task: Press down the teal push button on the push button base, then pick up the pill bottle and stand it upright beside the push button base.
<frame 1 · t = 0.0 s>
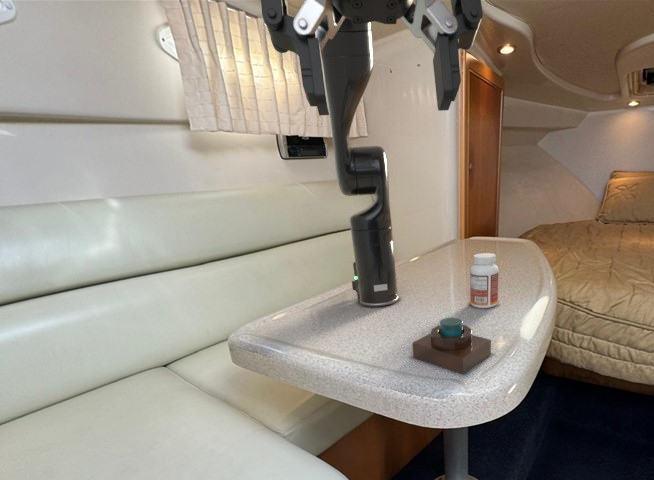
hand: (385, 106, 25), 31 cm above the table, tool tilted 20°, fingers open, 8 cm apart
teal push button: (451, 327, 58), point 5 cm above the table, slide at 0.1 cm
push button base: (451, 356, 60), on the table
pill bottle: (483, 305, 83), on the table
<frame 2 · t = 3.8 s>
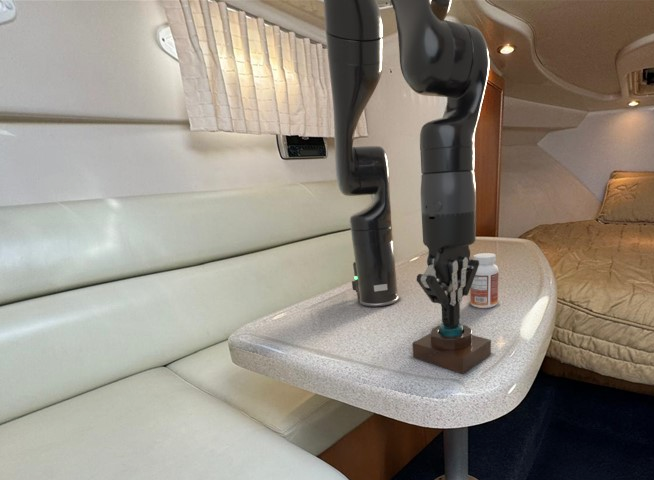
hand: (451, 325, 58), 5 cm above the table, tool pointing down, fingers closed
teal push button: (451, 331, 58), point 4 cm above the table, slide at -0.6 cm, touching gripper
everything else where it was.
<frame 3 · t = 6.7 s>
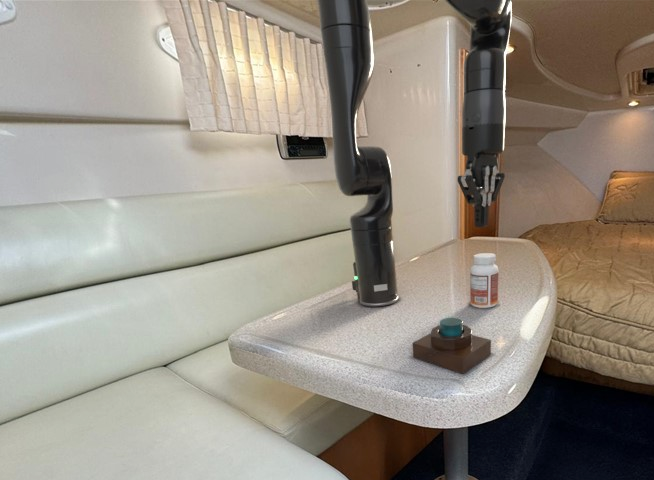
hand: (481, 226, 72), 17 cm above the table, tool pointing down, fingers closed
teal push button: (451, 327, 58), point 5 cm above the table, slide at 0.1 cm
everything else where it was.
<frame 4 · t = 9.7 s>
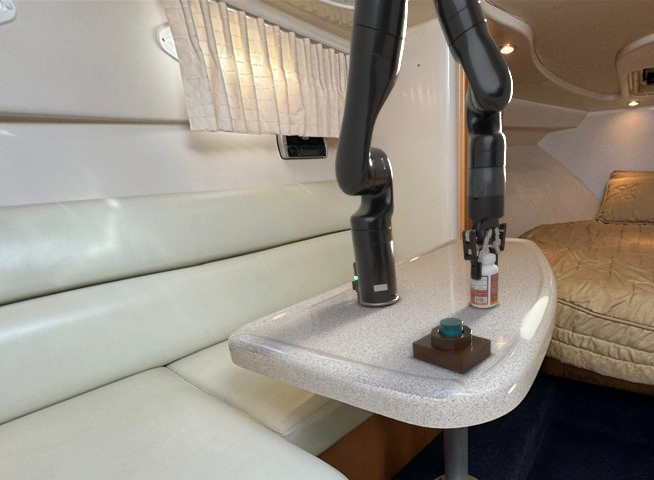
hand: (484, 275, 80), 7 cm above the table, tool pointing down, fingers closed on pill bottle, 6 cm apart
pill bottle: (483, 305, 83), on the table, touching gripper
everything else where it was.
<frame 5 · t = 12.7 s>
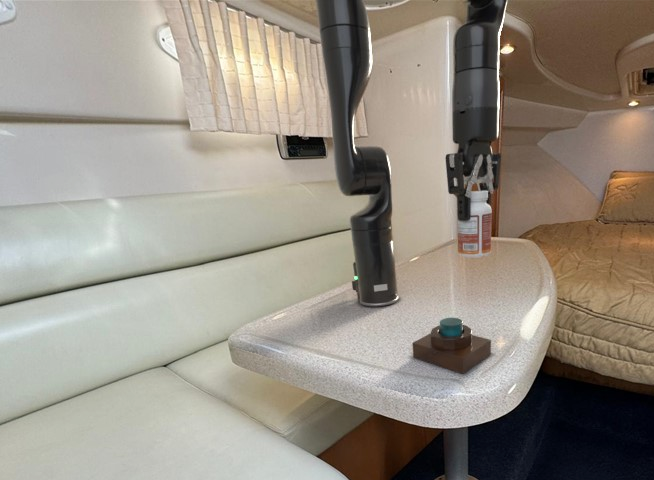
hand: (474, 217, 66), 20 cm above the table, tool pointing down, fingers closed on pill bottle, 6 cm apart
pill bottle: (474, 256, 69), point 13 cm above the table, touching gripper
everything else where it was.
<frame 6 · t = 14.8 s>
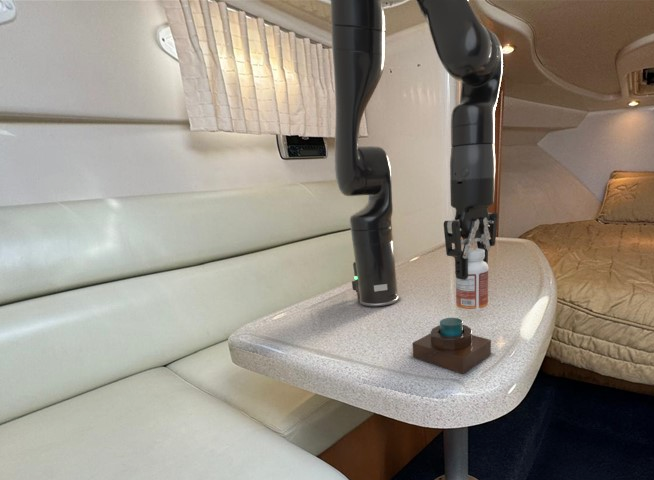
hand: (472, 274, 69), 10 cm above the table, tool pointing down, fingers closed on pill bottle, 6 cm apart
pill bottle: (471, 308, 72), point 3 cm above the table, touching gripper
everything else where it was.
when the fingers open (7 cm above the table, at t = 16.2 s): pill bottle stays where it is, on the table.
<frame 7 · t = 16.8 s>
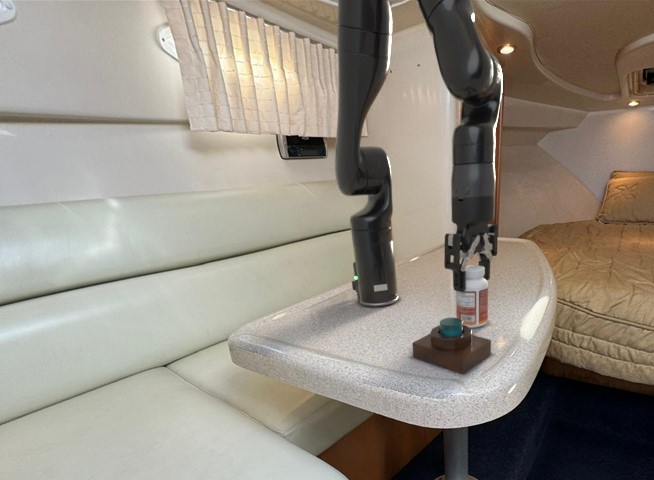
hand: (472, 285, 70), 8 cm above the table, tool pointing down, fingers open, 8 cm apart
pill bottle: (471, 323, 73), on the table
everything else where it was.
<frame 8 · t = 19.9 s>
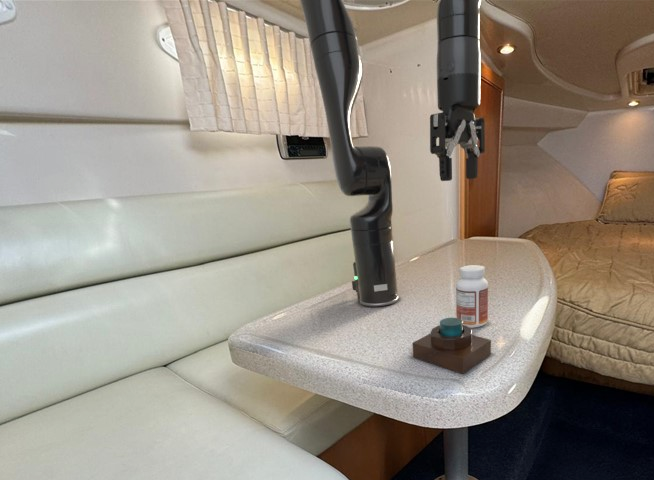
hand: (459, 179, 70), 26 cm above the table, tool pointing down, fingers open, 8 cm apart
nothing on the table moved.
at the end: teal push button pushed in 1.1 cm at the most during the clip, back to where it started at the end; pill bottle inside the target area on the table beside the push button base (0.2 cm from its centre), on the table; pill bottle tilted 0° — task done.
